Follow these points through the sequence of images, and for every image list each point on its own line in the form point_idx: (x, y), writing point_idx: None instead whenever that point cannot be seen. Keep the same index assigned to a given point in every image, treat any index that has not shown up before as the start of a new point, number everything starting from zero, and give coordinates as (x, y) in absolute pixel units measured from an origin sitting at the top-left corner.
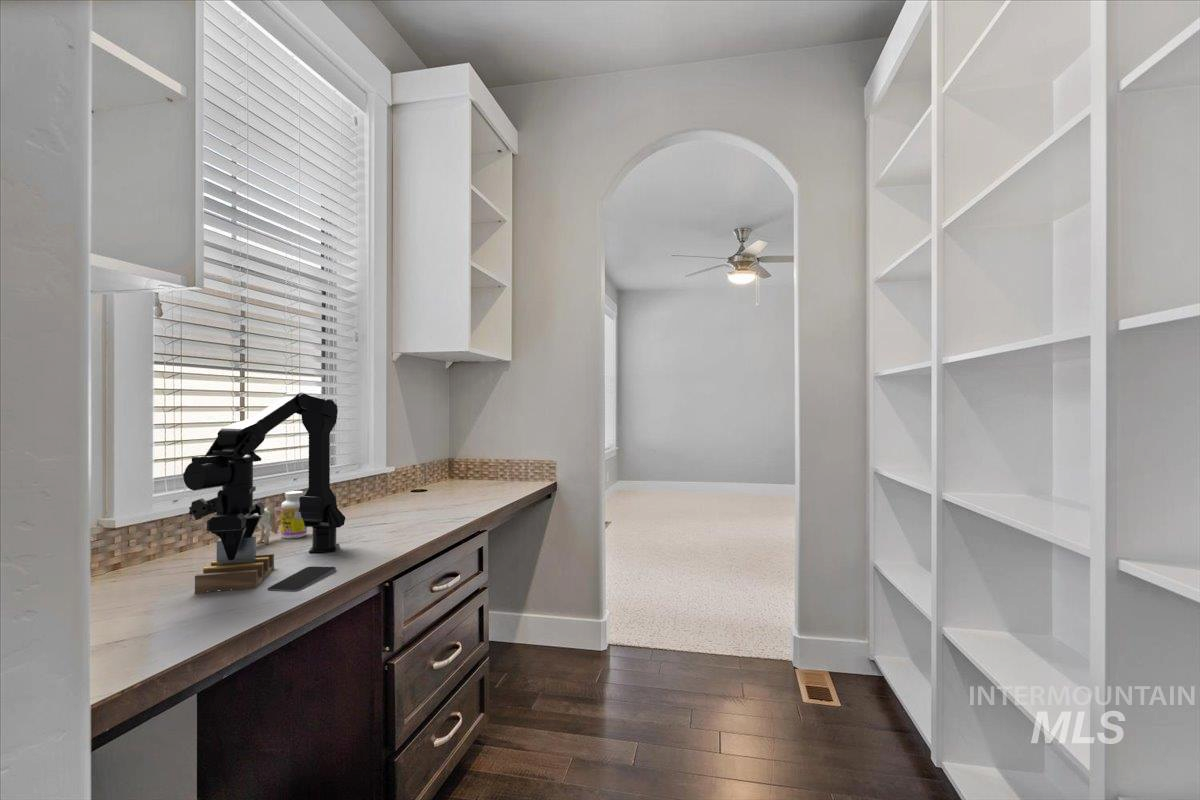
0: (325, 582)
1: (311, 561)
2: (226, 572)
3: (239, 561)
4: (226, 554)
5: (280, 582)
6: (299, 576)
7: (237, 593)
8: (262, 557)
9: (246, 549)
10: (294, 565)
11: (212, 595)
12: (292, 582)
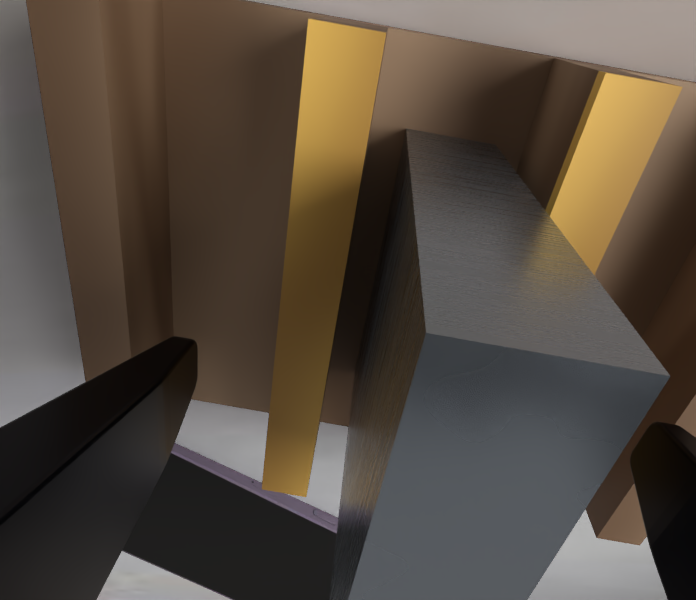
0: (167, 587)
1: (612, 585)
2: (108, 274)
3: (365, 371)
4: (114, 367)
5: (190, 472)
6: (264, 539)
7: (64, 286)
8: (623, 470)
9: (345, 518)
10: (581, 526)
11: (42, 139)
12: (171, 510)
